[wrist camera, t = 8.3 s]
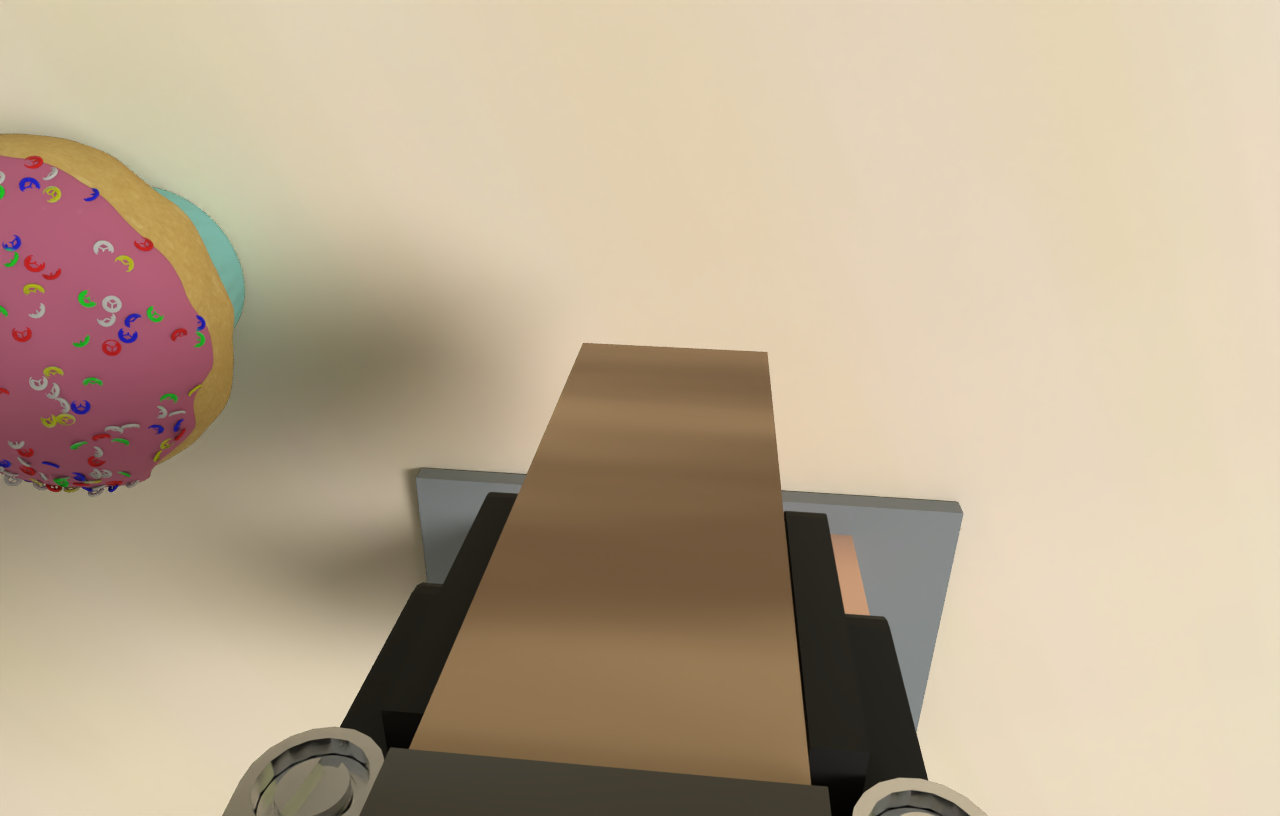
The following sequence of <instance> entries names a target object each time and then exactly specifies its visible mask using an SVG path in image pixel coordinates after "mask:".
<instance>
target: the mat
mask: <svg viewBox="0 0 1280 816" xmlns="http://www.w3.org/2000/svg"><path fill="white" fill-rule="evenodd" d="M525 477H526V475H524V474H508V473H493V472H477V471H461V470H446V469H430V468H422V469H421V470H420V472H419V473H418V475H417V476H416V487H417V495H418V504H419V513H420V521H421V530H422V539H423V548H424V556H425V565H426V574H427V582H428V583H436V584H443V583H444V581H445V579H446V577H447V575H448V573H449V571H450V569H451V567H452V565H453V563H454V561H455V559H456V557H457V554H458V552H459V550H460V548H461V546H462V544H463V542H464V540H465V538H466V536H467V534H468V532H469V530H470V528H471V526H472V524H473V522H474V520H475V518H476V516H477V514H478V512H479V510H480V508H481V506H482V504H483V502H484V500H485V498H486V496H487V494H488V493H489V492H503V493H519V491H520V489H521V486H522V484H523V482H524V480H525ZM781 493H782V503H783V512H784V511H798V512H813V513H825V514H826V515H827V518H828V524H829V529H830V534H838V535H852V538H853V542H854V547H855V551H856V556H857V560H858V565H859V569H860V574H861V578H862V582H863V587H864V591H865V596H866V600H867V605H868V609H869V614H870V616H884V617H885V618H886V619H887V621H888V624H889V627H890V630H891V634H892V638H893V642H894V646H895V650H896V654H897V658H898V662H899V666H900V670H901V674H902V678H903V682H904V686H905V690H906V694H907V698H908V702H909V706H910V710H911V714H912V718H913V722H914V726H915V730H916V731H917V726H918V722H919V717H920V713H921V708H922V703H923V699H924V694H925V689H926V685H927V680H928V675H929V671H930V666H931V661H932V657H933V652H934V647H935V643H936V638H937V633H938V629H939V624H940V620H941V615H942V610H943V606H944V601H945V596H946V592H947V587H948V582H949V578H950V573H951V568H952V564H953V559H954V554H955V550H956V545H957V541H958V536H959V531H960V527H961V522H962V517H963V511H962V509H961V507H960V505H959V503H958V502H949V501H933V500H917V499H902V498H886V497H870V496H855V495H839V494H823V493H807V492H792V491H781Z"/></svg>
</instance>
